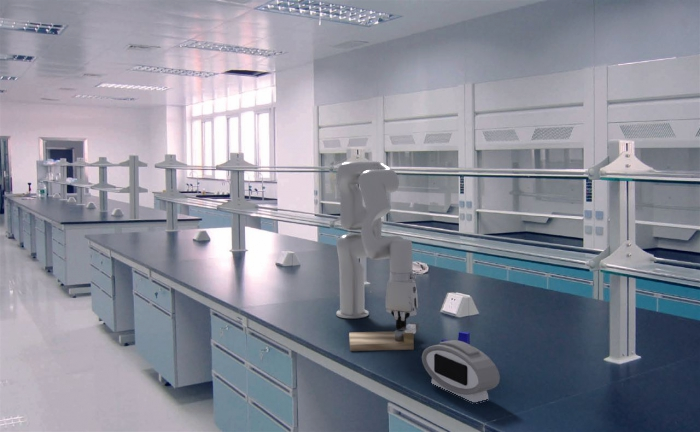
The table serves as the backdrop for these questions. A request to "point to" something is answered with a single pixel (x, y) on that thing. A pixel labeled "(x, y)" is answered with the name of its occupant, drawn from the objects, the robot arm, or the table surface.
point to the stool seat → (379, 341)
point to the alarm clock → (461, 369)
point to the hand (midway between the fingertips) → (401, 331)
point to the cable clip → (462, 337)
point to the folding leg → (406, 331)
